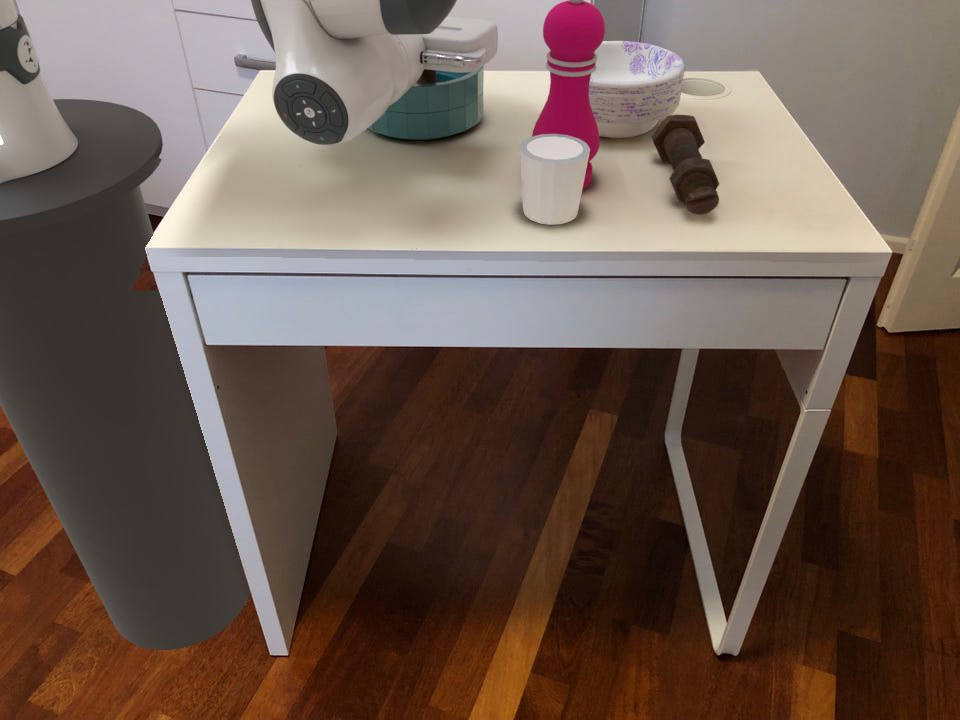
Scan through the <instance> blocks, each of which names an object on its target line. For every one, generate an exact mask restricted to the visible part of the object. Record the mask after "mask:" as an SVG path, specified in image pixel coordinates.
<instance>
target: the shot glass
mask: <svg viewBox="0 0 960 720" xmlns="http://www.w3.org/2000/svg"><path fill="white" fill-rule="evenodd" d="M589 153H590V148H589V146H588V145H587V143H585V142H584V141H582V140H580V139H578V138H575V137H572V136H568V135H561V134H541V135H537V136H533V137H532V136H529V137H528V138H526V139H525V140H523V141H522V142H521V143H520V145H519V161H520V162H519V163H520V179H521V196H522V197H521V198H522V211H523V214H524V216H525V217H526V218H527V219H529V220H530V221H532V222H535V223H538V224H540V225H541V224H542V225H549V226H555V225H564V224H566V223H570V222H572V221H573V220H575V219H576V218H577V217H578V213H579V209H580V203H581V198H582V192H583V190H584V189H583V184H584V178H585V173H586V168H587V163H588V158H589Z"/></svg>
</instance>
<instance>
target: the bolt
mask: <svg viewBox="0 0 960 720" xmlns="http://www.w3.org/2000/svg"><path fill="white" fill-rule="evenodd" d="M651 140H652V143H653V145H654V147H655V150H656V152H657V154H658V156H659V158H660V160H661V163H670V166H671V167H672V170H673V172H672V174H671V175H670V177H669V181H670V185H671V187H672V188H673V191H674V193H675V195H676V197H677V199H678V201H679V203H681V204H685V206H686V209H687V211H688V212H689V213H691V214H694V215H706V214H709V213H711V212H712V211H714V210H715V209H716V208H717V206H718V205H719V201H720V197H719V194H718V192H717V189H718V188H719V186H720V181H719V180H718V176H717V173H716V172H715V169H714V167H713V164H712V162H711V160H710V159H707V158H703V156H702V154H701V152H700V148H701V147H702V146H703V145H704V144H705V142H706V141H705V139H704V137H703V134H702V131H701V129H700V127H699V124H698V121H697V119H696V117H695V116H694V115H689V114H672V115H671V114H669V115H668V116H666V117H664V119H663V120H662V121H661V122H660V123H659V124H658V126H657V127H656V128H655V130H654V131H653V133H652V135H651Z"/></svg>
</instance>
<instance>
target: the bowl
mask: <svg viewBox="0 0 960 720" xmlns="http://www.w3.org/2000/svg"><path fill="white" fill-rule="evenodd" d="M484 66H485V65H484ZM484 66H482V67H480V68H479V69H477V70H475V71H472V72H466V73H456V72H447V71H438V70H436V79H437V82H438V83H432V84H414V85H413V86H412V87H411V88H410V89H409V90H408V91H407V92H406V93H405V94H404V95H403V96H402V97H401V98H400V99H398V100H397V101H396V102H395V103H393V104H392V105H390V106H389V107H388V108H387V110H386V111H385V113H384V114H383V115H382V116H381V117H380V118H379V119H378V120H377V121H376V122H374V123H373V124H372V125H371V126H370V127H368V128H367V129H368V130H370V131H371V132H374V133H377V134H380V135H383V136H387V137H391V138H395V139H400V140H401V139H402V140H410V141H429V140H437V139H443V138H447V137H451V136H453V135H456V134H459V133H462V132H466V131H467V130H470V129H471V128H473V127H474V126H476V125H478V124H479V123H480V121H481V120H482V119H483V117H484V78H485V77H484V73H485V72H484V69H485V68H484ZM416 83H418V81H417V82H416Z"/></svg>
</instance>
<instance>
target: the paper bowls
mask: <svg viewBox="0 0 960 720" xmlns="http://www.w3.org/2000/svg"><path fill="white" fill-rule="evenodd" d="M594 53H595V54H596V55H597V61H596V70H595V71H594V72H593V73H591V77H590V82H589V100H590V106H591V109H592V112H593V115H594V117H595V120H596V123H597V126H598V131H599V137H604V138H612V139H613V138H615V139H623V138H625V139H626V138H633V137H637V136H640V135H643V134H646V133H648V132H649V131H651V130H653V129H654V128H655V126H656V125H657V124H658V122H659V121H660V120H661V119H663V118H666V117H667V116H670V115H671V114H673V113H674V112H676V110H677V109H678V107H679V105H680V102H681V98H682V97H681V96H682V91H683V81H684V76H685V69H686V68H685V63H684V60H683V59H682V58H681V57H680V56H679V55H678V54H677V53H675V52H674V51H671V50H669V49H667V48H664V47H662V46H659V45H654V44H651V43H645V42H640V41H632V40H631V41H629V40H603V41H602V43H601V45H600V46H599V47H598V48H597V49H596V50H595V52H594Z"/></svg>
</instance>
